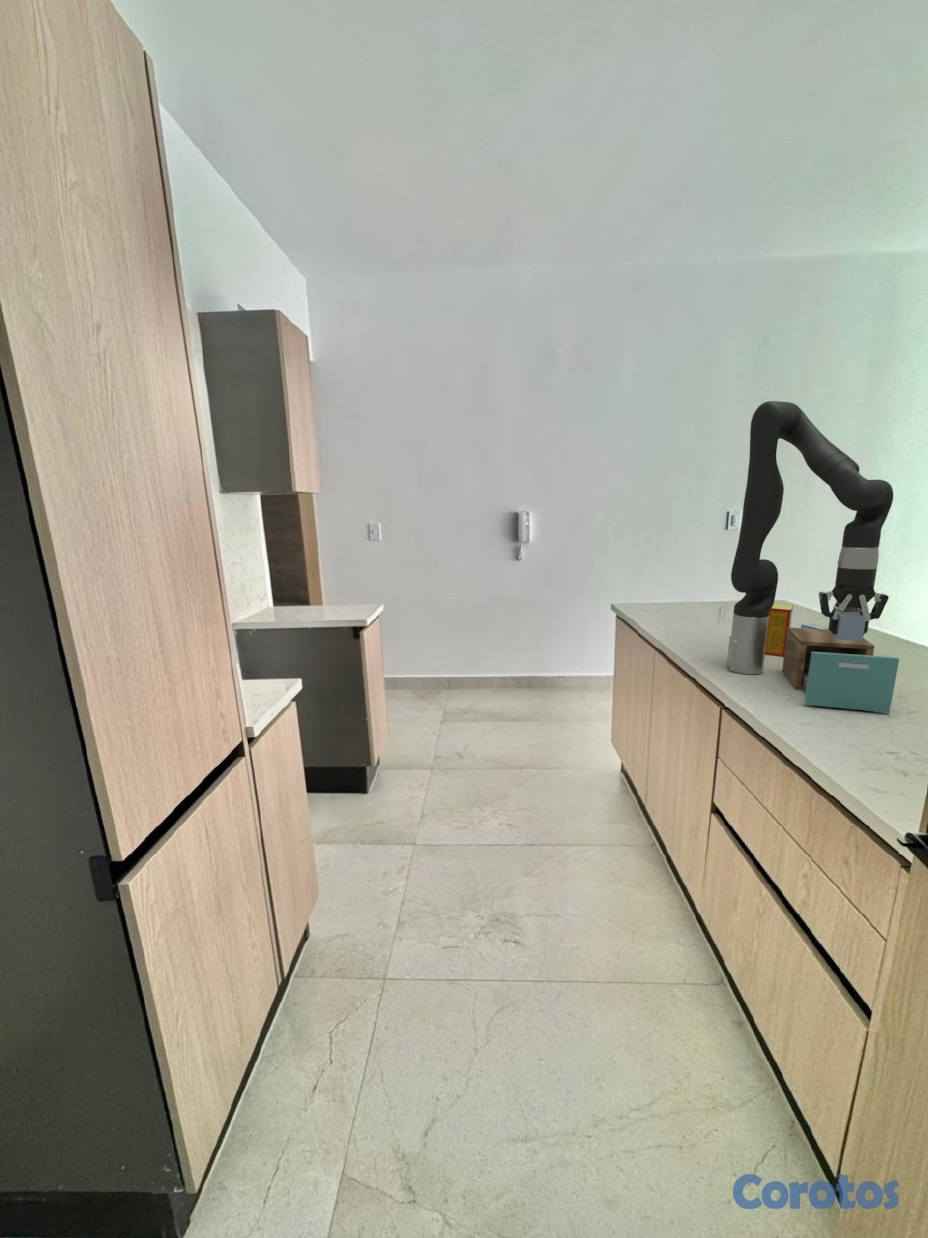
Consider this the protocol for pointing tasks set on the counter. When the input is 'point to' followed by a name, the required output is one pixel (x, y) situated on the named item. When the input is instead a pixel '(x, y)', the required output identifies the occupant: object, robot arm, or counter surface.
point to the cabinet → (815, 650)
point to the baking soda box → (778, 629)
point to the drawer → (850, 681)
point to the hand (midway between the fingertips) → (847, 633)
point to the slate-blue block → (850, 626)
